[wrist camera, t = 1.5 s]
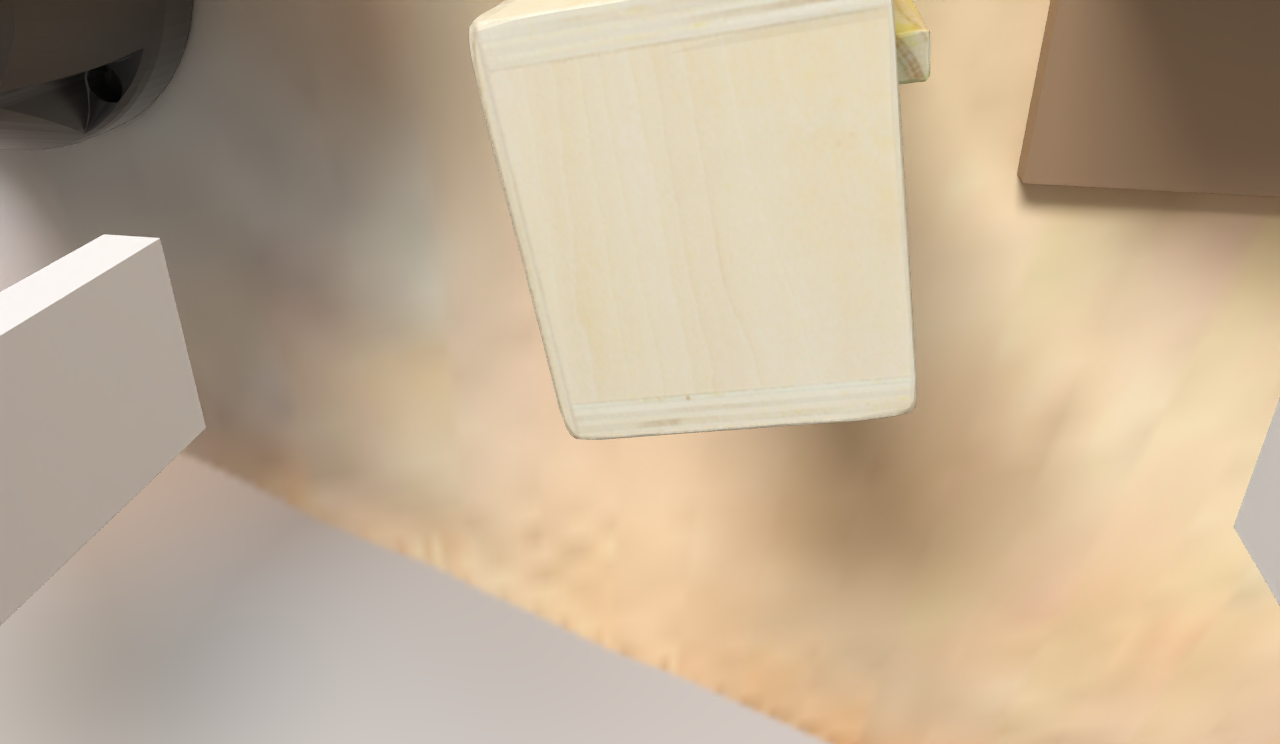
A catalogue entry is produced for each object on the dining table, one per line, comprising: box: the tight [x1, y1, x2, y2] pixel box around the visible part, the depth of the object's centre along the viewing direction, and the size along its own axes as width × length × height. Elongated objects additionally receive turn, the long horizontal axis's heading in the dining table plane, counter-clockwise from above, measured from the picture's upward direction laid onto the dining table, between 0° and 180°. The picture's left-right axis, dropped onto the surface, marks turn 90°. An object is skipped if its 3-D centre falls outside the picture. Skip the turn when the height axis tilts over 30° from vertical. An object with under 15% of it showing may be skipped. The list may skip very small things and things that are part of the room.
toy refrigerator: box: [469, 0, 930, 440], centre depth 25 cm, size 8×7×21 cm
